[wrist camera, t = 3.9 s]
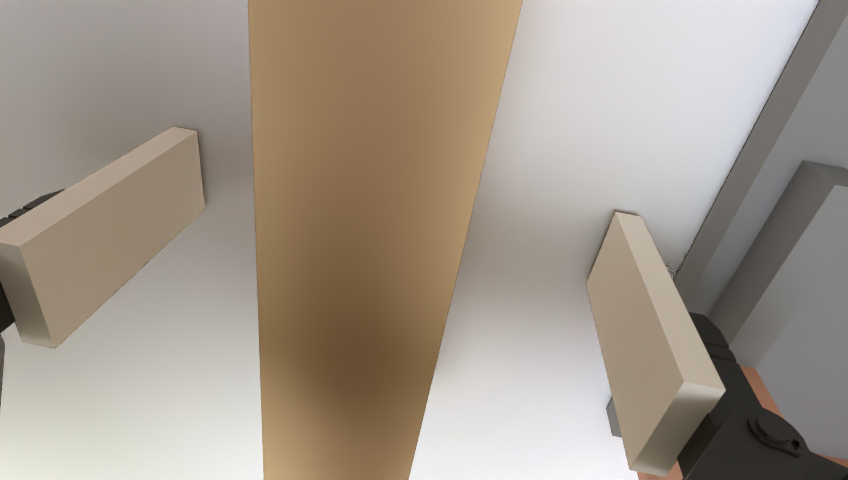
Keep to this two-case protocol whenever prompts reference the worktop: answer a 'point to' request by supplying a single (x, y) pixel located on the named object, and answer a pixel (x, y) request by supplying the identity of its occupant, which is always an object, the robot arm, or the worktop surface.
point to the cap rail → (786, 247)
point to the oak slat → (363, 215)
